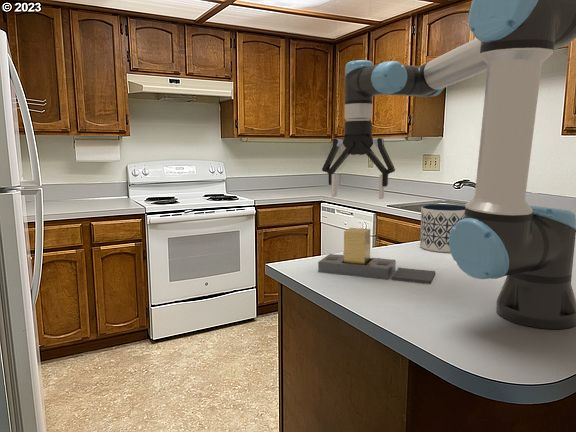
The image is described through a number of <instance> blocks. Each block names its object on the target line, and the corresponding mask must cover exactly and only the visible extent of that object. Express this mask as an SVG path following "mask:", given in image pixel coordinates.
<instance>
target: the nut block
mask: <svg viewBox="0 0 576 432" xmlns="http://www.w3.org/2000/svg"><path fill="white" fill-rule="evenodd" d="M343 255H344V263H349V264H359V265H367V264H368V263H369V262H370V258H371V228H359V227H358V228H357V227H349V228H347V229H345V230H344V231H343Z"/></svg>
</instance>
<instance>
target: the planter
mask: <svg viewBox="0 0 576 432" xmlns="http://www.w3.org/2000/svg"><path fill="white" fill-rule="evenodd" d="M420 210H421V211H420V215H421V216H420V235H419V236H420V241H419V243H420V245H419V246H420V247H421V248H422V249H424V250H427V251H430V252H434V253H435V252H436V253H445V254H446V253H447V254H451V252H450V247H449V235H450V231H451V229H452V227H453V226H455V224H456V223H457V222H458V221H460V220H462V219H464V213H465V205H462V204H451V203H450V204H449V203H446V204H445V203H442V204H441V203H435V204H434V203H433V204H424V205H422V206H421V207H420Z"/></svg>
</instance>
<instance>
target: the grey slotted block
mask: <svg viewBox="0 0 576 432" xmlns="http://www.w3.org/2000/svg"><path fill="white" fill-rule="evenodd" d="M396 262H397V260H396V259H390V258H389V259H388V258H381V257H380V258H378V257H370V262H369V263H368V264H367V265H359V264H349V263H344V254H334V253H330V254H328V255H326V256H324V257H323V258H322V259H319V261H318V262H317V263H318V264H317V266H318V270H317V271H318V273H325V274H335V275H345V276H354V277H363V278H371V279H382V280H389V279H390V278H391V277H392V276H393V275H394V273H395V272H396Z"/></svg>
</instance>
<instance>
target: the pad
mask: <svg viewBox="0 0 576 432" xmlns="http://www.w3.org/2000/svg"><path fill="white" fill-rule="evenodd" d="M435 275H436V270H427V269H426V270H425V269H417V268H416V269H415V268H407V267H398V268H397V270H395V271H394V272H393V274H392V275H391V280H392V281H399V282H408V283H418V284H424V285H425V284H427V285H431V284H432V281H433V279H434V277H435Z"/></svg>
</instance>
